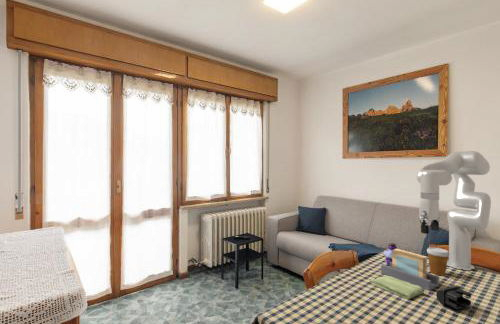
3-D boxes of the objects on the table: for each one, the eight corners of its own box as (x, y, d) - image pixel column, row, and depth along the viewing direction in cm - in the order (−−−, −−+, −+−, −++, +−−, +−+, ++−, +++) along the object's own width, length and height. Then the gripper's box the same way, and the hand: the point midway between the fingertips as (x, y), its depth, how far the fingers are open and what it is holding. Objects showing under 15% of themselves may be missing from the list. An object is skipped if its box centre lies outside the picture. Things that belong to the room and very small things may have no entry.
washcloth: (386, 279, 128) (386, 272, 129) (425, 294, 113) (425, 287, 113) (369, 284, 122) (369, 277, 122) (408, 302, 107) (408, 294, 107)
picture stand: (391, 269, 140) (391, 261, 140) (439, 285, 121) (439, 276, 122) (381, 273, 135) (381, 265, 135) (428, 290, 116) (429, 281, 116)
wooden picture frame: (396, 270, 135) (396, 248, 135) (426, 280, 123) (427, 256, 123) (392, 271, 133) (392, 249, 133) (422, 282, 121) (422, 258, 121)
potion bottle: (401, 264, 147) (401, 243, 147) (400, 269, 140) (401, 246, 140) (384, 261, 152) (384, 240, 152) (382, 266, 144) (383, 244, 145)
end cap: (451, 299, 109) (452, 283, 109) (471, 308, 102) (471, 290, 102) (435, 303, 105) (435, 286, 105) (455, 313, 99) (455, 295, 99)
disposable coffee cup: (441, 270, 140) (441, 247, 140) (453, 277, 131) (453, 253, 131) (422, 269, 141) (422, 246, 141) (433, 276, 132) (433, 252, 132)
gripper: (430, 194, 135) (430, 227, 135) (412, 197, 126) (412, 232, 126) (447, 195, 129) (447, 230, 129) (429, 198, 120) (429, 236, 120)
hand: (430, 231), depth 127 cm, fingers open, 9 cm apart
